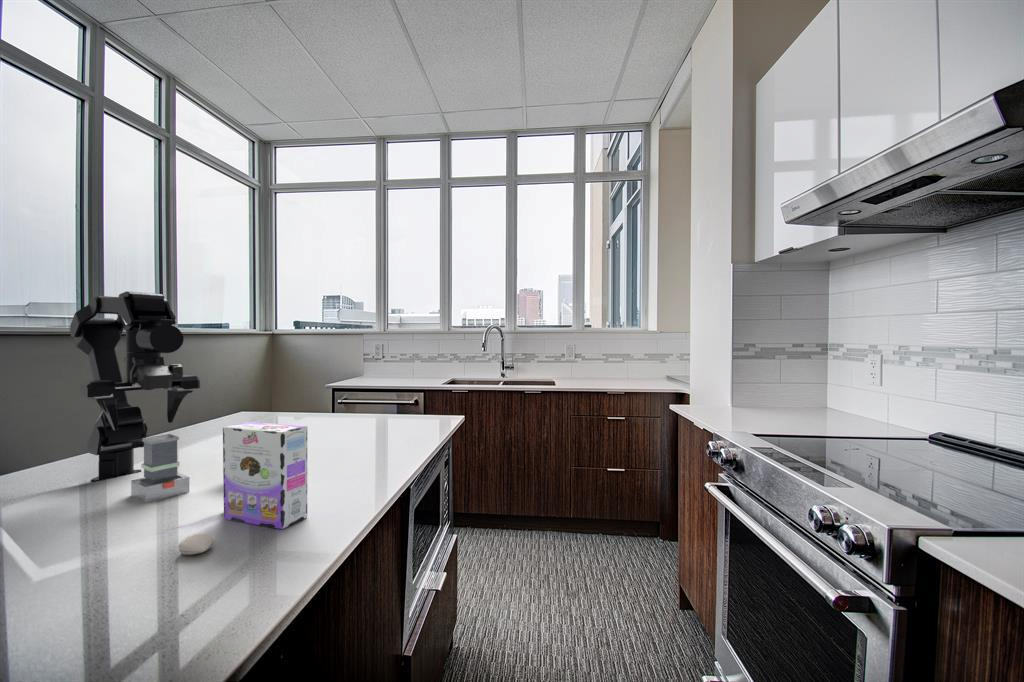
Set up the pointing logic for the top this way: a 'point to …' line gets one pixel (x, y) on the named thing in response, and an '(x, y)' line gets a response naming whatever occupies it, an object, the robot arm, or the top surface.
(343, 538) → the top surface
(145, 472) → the column
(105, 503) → the top surface
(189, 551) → the white rounded lump
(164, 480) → the stand base
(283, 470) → the candy box
